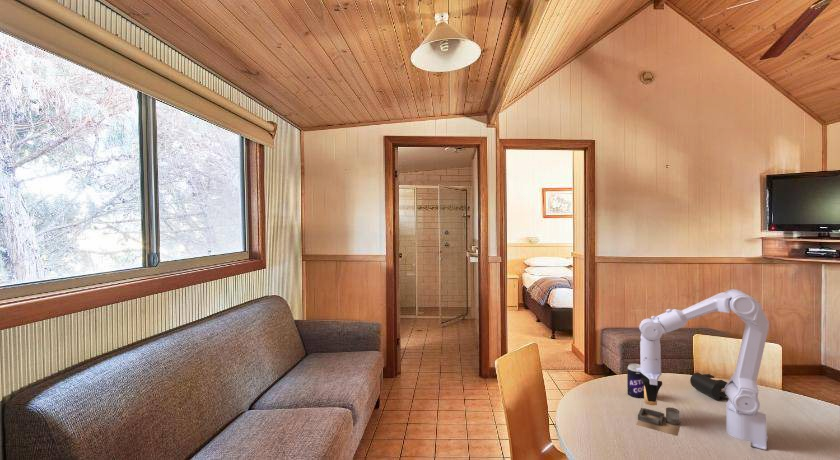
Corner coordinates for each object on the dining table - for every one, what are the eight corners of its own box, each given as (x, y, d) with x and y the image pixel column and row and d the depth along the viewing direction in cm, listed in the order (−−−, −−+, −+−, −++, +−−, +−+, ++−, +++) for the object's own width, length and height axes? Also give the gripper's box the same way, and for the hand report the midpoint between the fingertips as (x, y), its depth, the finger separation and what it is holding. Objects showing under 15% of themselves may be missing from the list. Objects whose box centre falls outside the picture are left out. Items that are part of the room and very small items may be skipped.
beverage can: (627, 399, 144) (627, 367, 143) (627, 393, 149) (627, 362, 148) (645, 402, 141) (645, 369, 141) (644, 396, 146) (644, 364, 146)
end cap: (689, 390, 150) (689, 372, 150) (706, 388, 151) (706, 371, 151) (711, 402, 140) (711, 383, 140) (729, 400, 141) (729, 382, 141)
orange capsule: (643, 399, 130) (643, 381, 130) (655, 401, 128) (655, 383, 128) (645, 404, 126) (645, 386, 126) (658, 406, 125) (657, 387, 125)
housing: (680, 425, 125) (680, 409, 125) (677, 439, 118) (677, 422, 117) (641, 415, 132) (641, 400, 132) (635, 428, 125) (635, 412, 124)
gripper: (634, 348, 135) (634, 387, 136) (638, 363, 122) (639, 406, 122) (657, 350, 132) (658, 390, 133) (665, 366, 119) (665, 410, 119)
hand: (650, 398), depth 127 cm, fingers closed on orange capsule, 4 cm apart
